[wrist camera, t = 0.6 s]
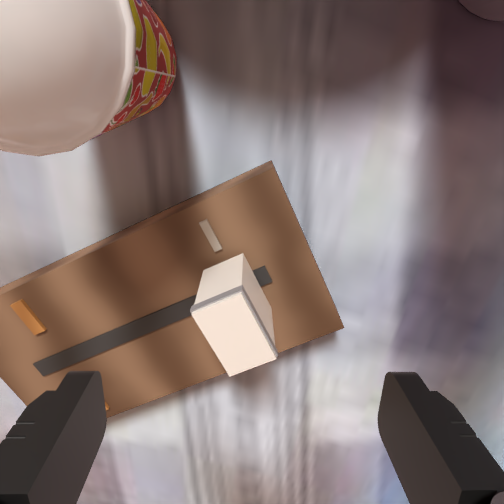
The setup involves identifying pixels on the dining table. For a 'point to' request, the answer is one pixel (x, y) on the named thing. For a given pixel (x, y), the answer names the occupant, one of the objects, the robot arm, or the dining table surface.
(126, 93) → the smoothie
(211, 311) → the fader tab
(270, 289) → the brown flat wooden board
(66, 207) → the dining table surface
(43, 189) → the dining table surface
